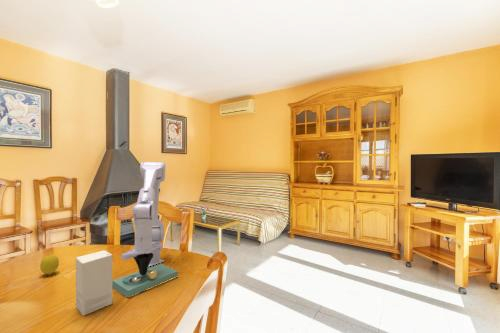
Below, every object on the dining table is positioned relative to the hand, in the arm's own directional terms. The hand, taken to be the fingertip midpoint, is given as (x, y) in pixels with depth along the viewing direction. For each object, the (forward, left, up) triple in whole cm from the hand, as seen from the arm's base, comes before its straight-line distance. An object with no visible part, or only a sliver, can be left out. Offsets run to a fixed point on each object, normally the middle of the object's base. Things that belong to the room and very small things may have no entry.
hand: (143, 274), depth 89 cm
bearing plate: (0, +1, -3) cm, 4 cm away
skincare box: (+2, -17, -4) cm, 17 cm away
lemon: (-34, -19, -4) cm, 39 cm away
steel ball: (0, -2, -2) cm, 3 cm away
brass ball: (+4, +1, +1) cm, 4 cm away
